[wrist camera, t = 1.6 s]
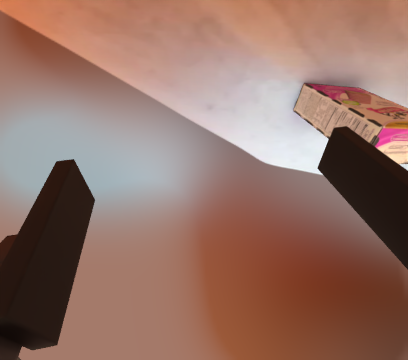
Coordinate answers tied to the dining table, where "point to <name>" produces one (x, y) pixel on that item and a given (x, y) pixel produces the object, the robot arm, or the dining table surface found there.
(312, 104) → the candy bar box
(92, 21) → the dining table surface
